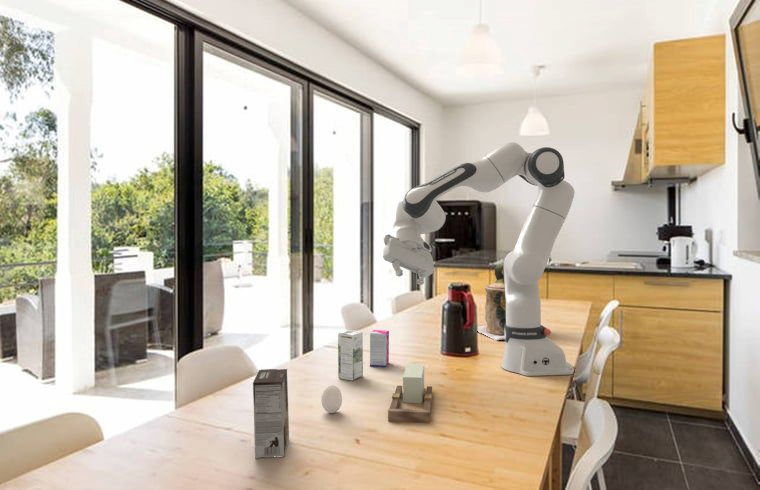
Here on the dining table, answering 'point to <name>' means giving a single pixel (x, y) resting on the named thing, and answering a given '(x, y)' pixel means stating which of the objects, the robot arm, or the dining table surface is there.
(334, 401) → the egg
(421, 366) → the block
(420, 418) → the slot track
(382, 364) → the supplement box
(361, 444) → the dining table surface
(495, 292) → the cookie jar
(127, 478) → the dining table surface
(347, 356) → the syrup box
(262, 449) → the coffee box
